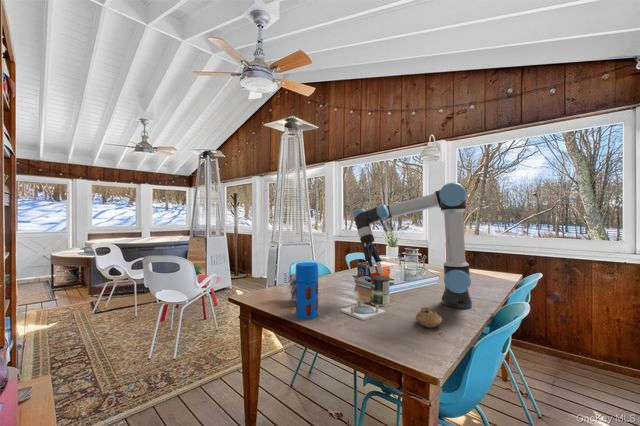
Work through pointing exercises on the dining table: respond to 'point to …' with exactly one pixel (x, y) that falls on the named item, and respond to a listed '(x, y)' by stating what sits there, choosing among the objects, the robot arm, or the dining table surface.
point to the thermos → (306, 290)
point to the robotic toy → (293, 285)
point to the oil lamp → (428, 318)
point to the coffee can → (380, 290)
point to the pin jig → (362, 311)
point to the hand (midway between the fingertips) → (377, 273)
